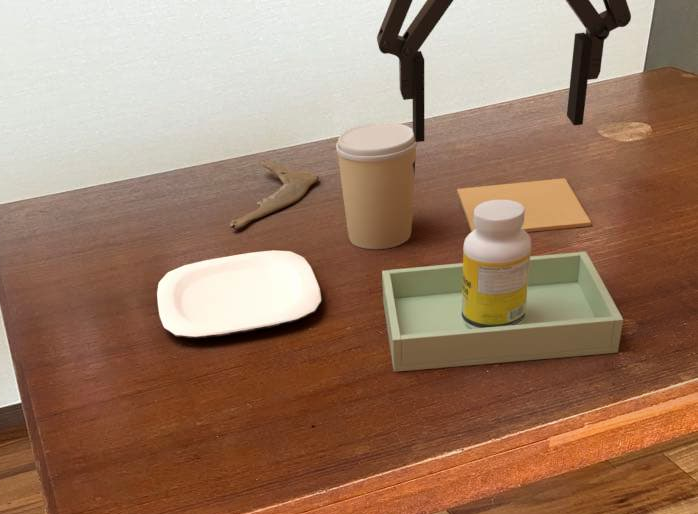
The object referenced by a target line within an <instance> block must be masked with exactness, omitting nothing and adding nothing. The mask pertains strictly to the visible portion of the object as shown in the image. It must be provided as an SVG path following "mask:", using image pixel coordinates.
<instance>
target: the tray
mask: <svg viewBox="0 0 698 514" xmlns="http://www.w3.org/2000/svg"><path fill="white" fill-rule="evenodd" d="M597 270H598V269H596V267H595V265H594V263H593V261H592V259H591V258H590V256H589V254H588V251H575V252H566V253H565V252H563V253H555V254H546V255H545V254H544V255H534V256H533V255H532V256H530V267H529V278H528V289H527V301H526V314H525V318H524V320H523V322H522V323H521V324H520V325H510V326H498V327H487V328H476V329H472V328H470V327H468V326H467V325H466V324H465V323H464V321H463V319H462V281H463V262H459V263H449V264H437V265H427V266H416V267H407V268H405V267H404V268H395V269H387V270H382V272H381V280H382V281H381V282H382V302H383V303H382V304H383V309H384V317H385V322H386V330H387V337H388V342H389V349H390V356H391V362H392V370H393V373H397V372H408V371H409V372H410V371H420V370H421V371H422V370H432V369H443V368H445V369H446V368H456V367H467V366H478V365H490V364H501V363H514V362H523V361H524V362H525V361H537V360H548V359H549V360H550V359H559V358H561V359H563V358H571V357H572V358H573V357H584V356H595V355H606V354H607V355H608V354H618V353H619V348H620V343H621V337H622V331H623V325H624V318H623V316H622V314H621V312H620V310H619V309H618V307H617V305H616V303H615V301H614V299H613V297H612V296H611V294H610V291H608V289H607V287H606V285H605V283H604V281H603V280H602V277H601V276H600V274H599V272H598V271H597Z"/></svg>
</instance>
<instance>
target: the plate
mask: <svg viewBox="0 0 698 514" xmlns="http://www.w3.org/2000/svg"><path fill="white" fill-rule="evenodd" d="M315 275H316V274H315V273H314V270H313V268H312V266H311V264H309V262H308V261H307V259H306V258H305V257H304V256H302V255H299V254H297V253H295V252H294V251H291V250H290V251H289V250H275V249H273V250H262V251H255V252H254V251H253V252H247V253H241V254H234V255H229V256H222V257H216V258H210V259H205V260H201V261H198V262H193V263H189V264H183V265H182V266H179V267H177V268H175V269H173V270H170V271H168V272H167V273H165V275H164V276H163V277H162V278H161V279H160V281H158V285H157V291H156V298H157V299H156V301H157V309H158V315H159V320H160V321H161V324H162V327H163V329H164V330H165V331H167V332H168V333H170V334H172V335H173V336H175V337H177V338H186V339H205V338H206V339H207V338H215V337H223V336H230V335H237V334H241V333H248V332H253V331H259V330H264V329H270V328H274V327H278V326H279V327H280V326H282V325H287V324H290V323H296V322H298V321H300V320H303V319H304V318H306V317H308V316H310V315H313V314H315V312H316V311H317V310H318V307H319V306H320V305H321V303H322V293H321V288H320V285H319V282H318V279H317V277H316V276H315Z"/></svg>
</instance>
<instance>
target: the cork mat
mask: <svg viewBox="0 0 698 514" xmlns="http://www.w3.org/2000/svg"><path fill="white" fill-rule="evenodd" d="M457 195H458V199H459V201H460V204H461V207H462V210H463V213H464V215H465V218H466V221H467V225H468V227H469V230H470V233H471V232H472V231H474V230H475V229H476V228H475V226H474V209H475V208H476V207H477V206H478V205H479V204H481V203H484V202H487V201H491V200H511V201H515V202H518V203H520V204H521V205H523V207H524V210H525V212H524V223H523V225H522V227H521V228H522V229H523V230H525V231H526V232H527V233H534V232H544V231H555V230H564V229H575V228H587V227H591V226H592V221H591V220H590V218H589V216H588V214H587V213H586V211H585V209H584V208H583V206H582V204H581V203H580V201H579V199H578V198H577V196H576V194H575V193H574V191H573V189H572V187H571V186H570V184H569V182H568V180H567V179H566V178H565V177H564V178H563V177H562V178H553V179H544V180H543V179H542V180H534V181H523V182H514V183H503V184H494V185H484V186H474V187H472V186H471V187H463V188H462V187H461V188H457Z"/></svg>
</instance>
